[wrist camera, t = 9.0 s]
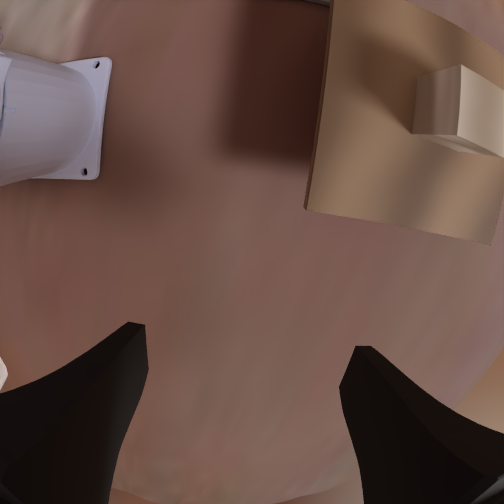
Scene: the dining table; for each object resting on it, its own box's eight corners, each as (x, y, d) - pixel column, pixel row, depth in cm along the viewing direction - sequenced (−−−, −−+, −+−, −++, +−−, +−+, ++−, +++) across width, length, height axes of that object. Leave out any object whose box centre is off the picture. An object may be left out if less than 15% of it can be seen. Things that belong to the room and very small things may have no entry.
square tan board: (303, 206, 14) (326, 233, 10) (331, -17, 10) (357, -61, 6) (483, 241, 14) (529, 268, 10) (504, 63, 10) (550, 57, 6)
